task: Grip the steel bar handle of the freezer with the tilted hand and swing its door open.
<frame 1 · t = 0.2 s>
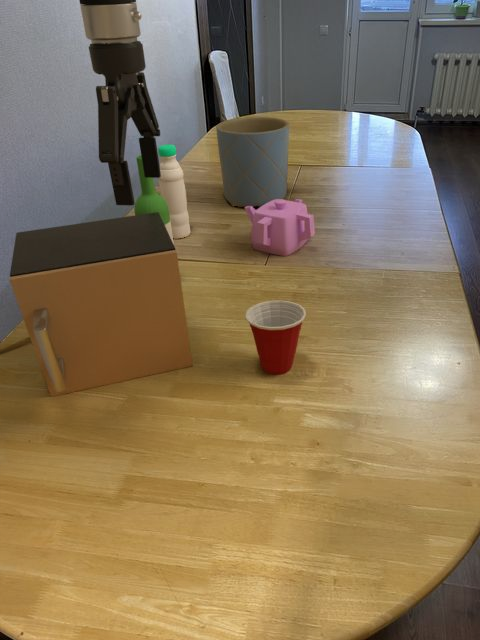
hand: (140, 190, 85), 32 cm above the table, tool pointing down, fingers open, 13 cm apart
wine bottle: (163, 281, 128), on the table
freezer door: (112, 336, 87), point 12 cm above the table, hinge at 0.0°
plastic cup: (276, 366, 99), on the table
teakettle: (280, 243, 144), on the table
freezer: (119, 351, 104), on the table
planter: (255, 199, 174), on the table
water bottle: (178, 235, 152), on the table
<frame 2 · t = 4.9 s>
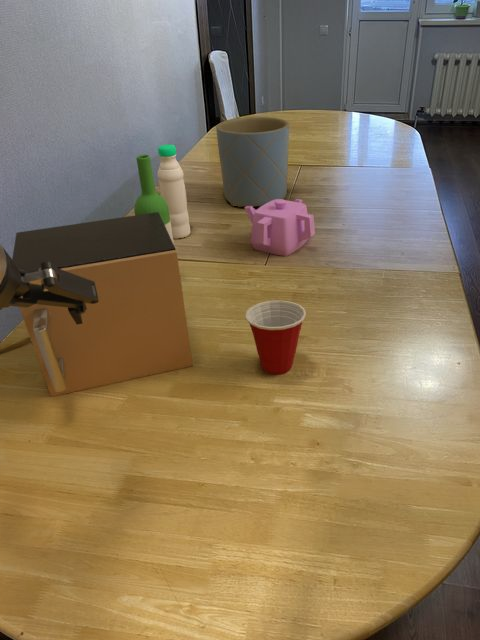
hand: (23, 324, 66), 25 cm above the table, tool tilted 45°, fingers open, 13 cm apart
nothing on the table moved.
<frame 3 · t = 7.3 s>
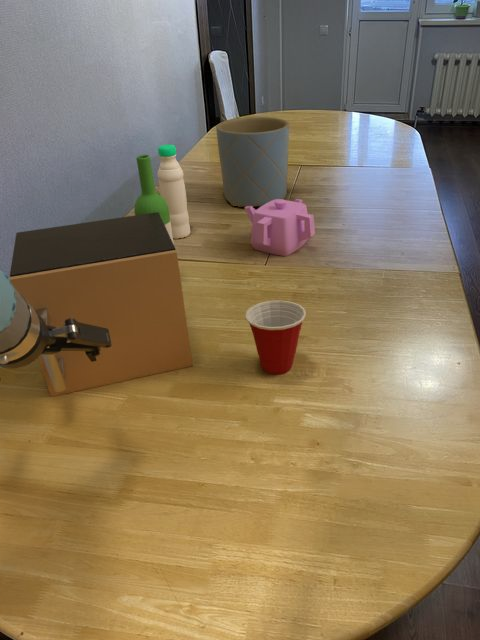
hand: (45, 362, 77), 15 cm above the table, tool tilted 45°, fingers open, 13 cm apart
nothing on the table moved.
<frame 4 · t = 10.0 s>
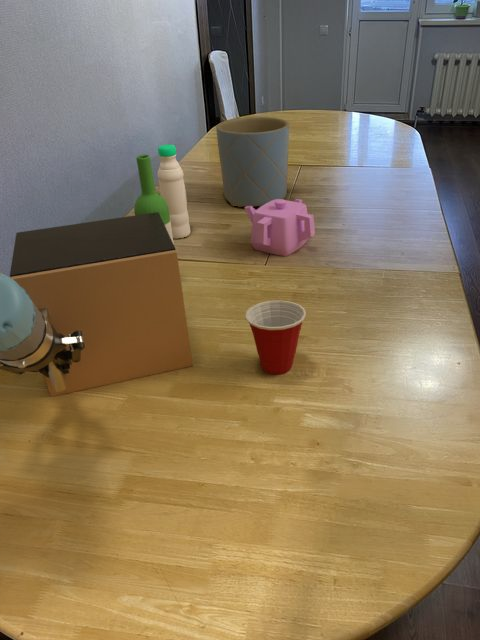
hand: (56, 367, 87), 8 cm above the table, tool tilted 45°, fingers closed on freezer door, 2 cm apart
freezer door: (112, 336, 87), point 12 cm above the table, hinge at 0.0°, touching gripper
everything else where it was.
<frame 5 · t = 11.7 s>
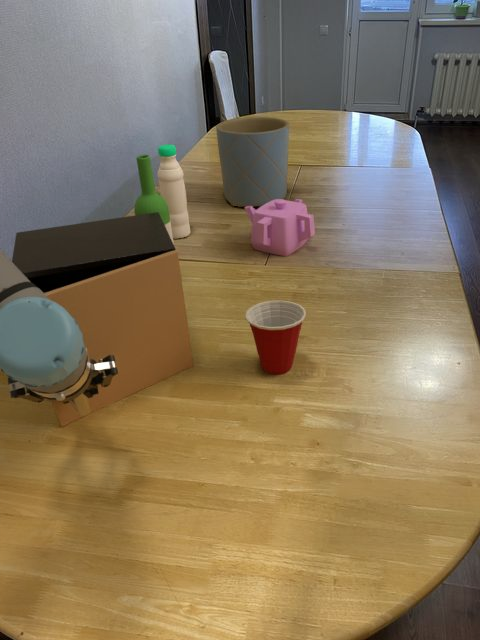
hand: (77, 392, 81), 8 cm above the table, tool tilted 45°, fingers closed on freezer door, 3 cm apart
freezer door: (127, 347, 84), point 12 cm above the table, hinge at 20.0°, touching gripper
everything else where it was.
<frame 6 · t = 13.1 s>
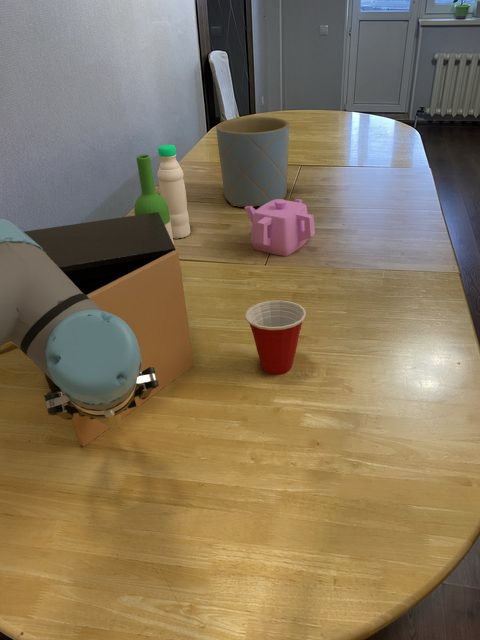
hand: (106, 406, 78), 8 cm above the table, tool tilted 45°, fingers open, 4 cm apart
freezer door: (144, 353, 82), point 12 cm above the table, hinge at 35.3°, touching gripper
everything else where it was.
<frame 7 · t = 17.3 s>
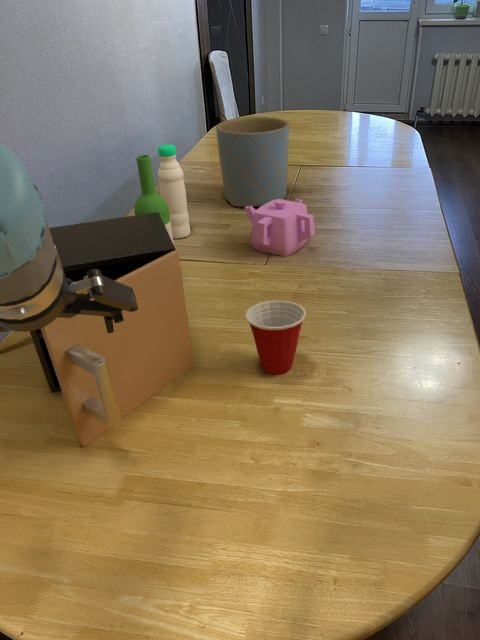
hand: (51, 335, 63), 26 cm above the table, tool tilted 45°, fingers open, 13 cm apart
freezer door: (144, 353, 82), point 12 cm above the table, hinge at 35.1°
everything else where it was.
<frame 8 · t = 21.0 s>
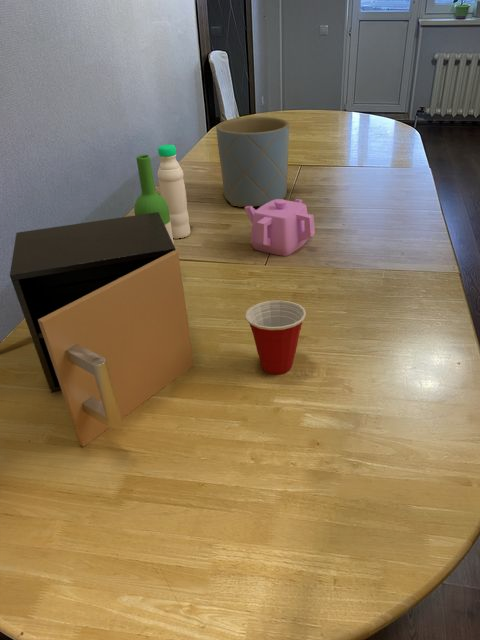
nothing on the table moved.
at the end: freezer door at +35° (first picture: +0°) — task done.
